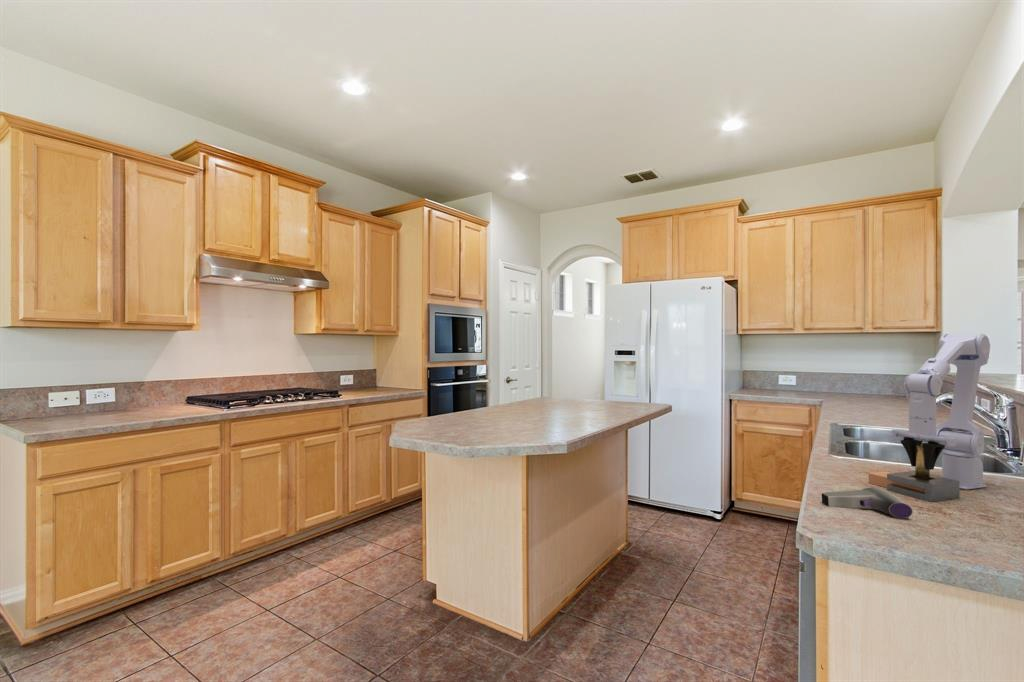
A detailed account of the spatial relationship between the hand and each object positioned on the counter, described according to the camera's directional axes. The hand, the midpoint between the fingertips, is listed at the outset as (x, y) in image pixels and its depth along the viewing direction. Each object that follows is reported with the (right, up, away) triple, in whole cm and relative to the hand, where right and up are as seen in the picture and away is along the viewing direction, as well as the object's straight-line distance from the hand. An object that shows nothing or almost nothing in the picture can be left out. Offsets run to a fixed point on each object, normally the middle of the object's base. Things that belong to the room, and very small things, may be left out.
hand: (922, 467), depth 133 cm
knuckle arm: (-1, -7, +4) cm, 8 cm away
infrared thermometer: (-25, -8, -13) cm, 30 cm away
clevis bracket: (0, -7, 0) cm, 7 cm away
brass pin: (0, -3, 0) cm, 3 cm away
